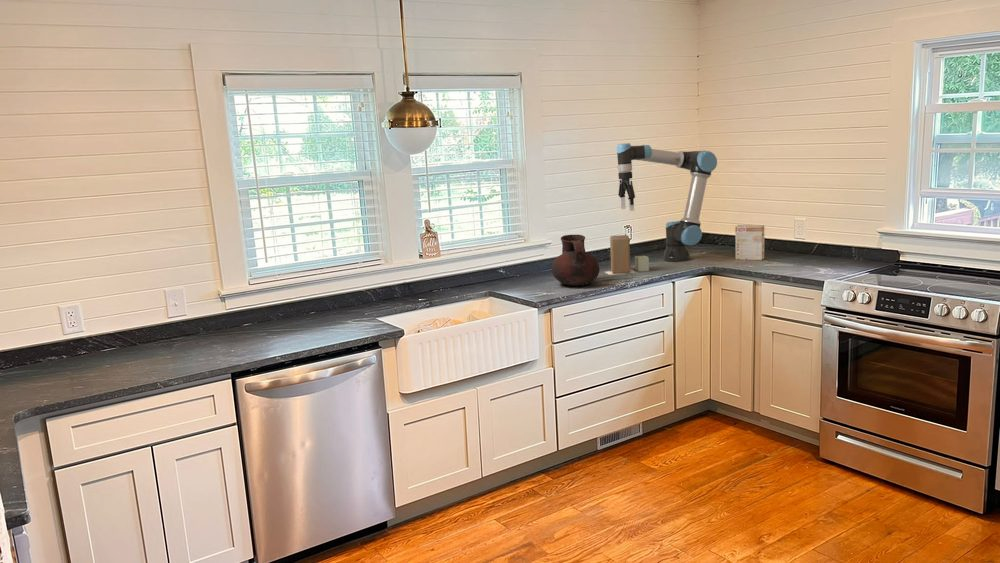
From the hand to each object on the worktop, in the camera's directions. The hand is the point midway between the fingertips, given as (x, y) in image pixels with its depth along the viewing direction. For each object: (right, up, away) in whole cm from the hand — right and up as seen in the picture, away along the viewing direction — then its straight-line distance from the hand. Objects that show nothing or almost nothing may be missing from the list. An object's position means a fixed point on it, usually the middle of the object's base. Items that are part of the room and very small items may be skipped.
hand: (627, 209), depth 415 cm
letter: (-4, -35, -3) cm, 36 cm away
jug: (-32, -42, -28) cm, 59 cm away
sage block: (+8, -34, -1) cm, 35 cm away
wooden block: (-4, -35, -3) cm, 36 cm away
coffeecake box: (+74, -27, +15) cm, 80 cm away
